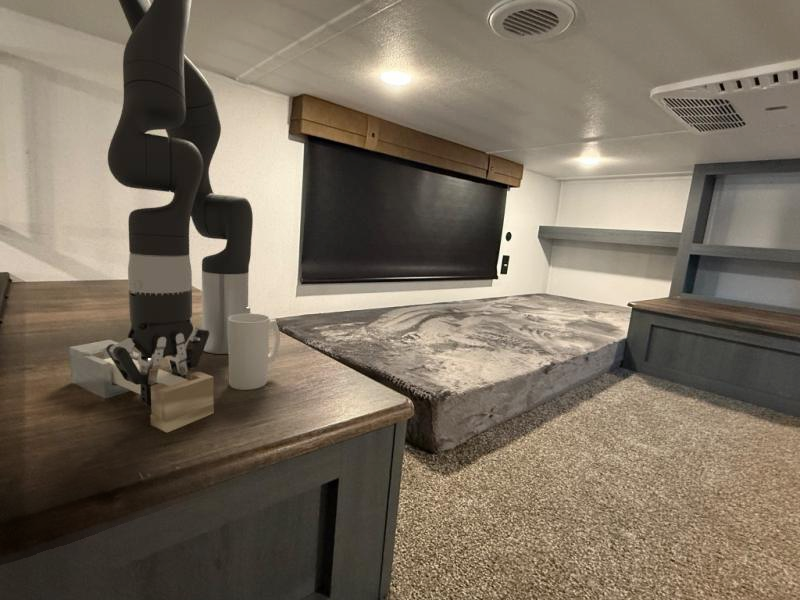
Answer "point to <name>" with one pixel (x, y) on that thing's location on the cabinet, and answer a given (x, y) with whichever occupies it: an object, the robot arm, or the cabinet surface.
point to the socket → (182, 402)
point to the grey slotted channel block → (95, 369)
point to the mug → (250, 349)
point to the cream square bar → (118, 379)
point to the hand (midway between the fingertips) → (164, 401)
